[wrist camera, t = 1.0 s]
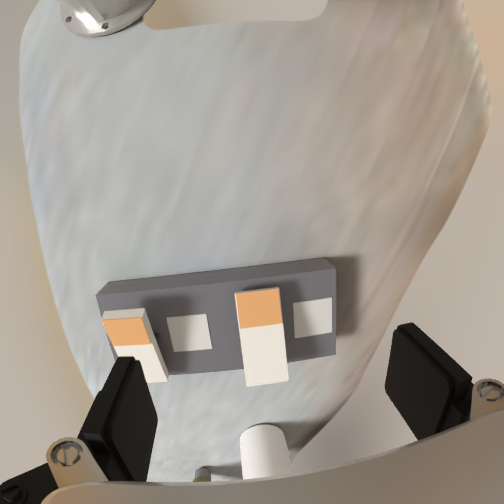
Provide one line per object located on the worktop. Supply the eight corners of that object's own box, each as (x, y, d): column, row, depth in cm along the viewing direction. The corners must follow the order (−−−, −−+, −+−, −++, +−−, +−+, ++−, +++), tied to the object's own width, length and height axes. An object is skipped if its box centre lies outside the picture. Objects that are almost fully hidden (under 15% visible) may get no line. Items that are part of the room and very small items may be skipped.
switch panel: (108, 282, 33) (90, 301, 28) (324, 257, 35) (341, 272, 29) (129, 358, 36) (117, 384, 31) (325, 337, 37) (339, 361, 32)
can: (230, 440, 40) (234, 506, 29) (259, 416, 40) (271, 484, 28) (263, 455, 42) (273, 517, 30) (293, 433, 41) (310, 496, 29)
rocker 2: (234, 292, 30) (234, 293, 28) (277, 286, 30) (279, 288, 29) (246, 381, 30) (246, 387, 28) (286, 376, 30) (288, 381, 29)
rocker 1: (104, 311, 27) (100, 320, 26) (144, 307, 27) (142, 317, 26) (133, 374, 31) (131, 383, 30) (168, 372, 31) (167, 382, 30)
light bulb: (180, 461, 41) (175, 511, 32) (214, 457, 41) (214, 508, 32) (192, 479, 43) (190, 526, 33) (224, 475, 43) (226, 523, 33)
